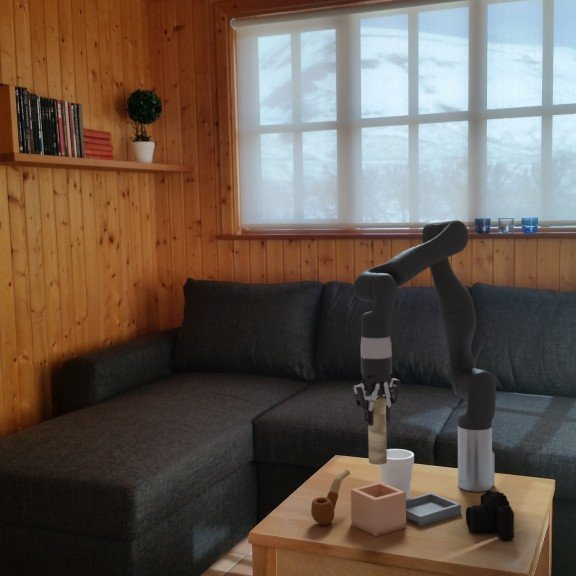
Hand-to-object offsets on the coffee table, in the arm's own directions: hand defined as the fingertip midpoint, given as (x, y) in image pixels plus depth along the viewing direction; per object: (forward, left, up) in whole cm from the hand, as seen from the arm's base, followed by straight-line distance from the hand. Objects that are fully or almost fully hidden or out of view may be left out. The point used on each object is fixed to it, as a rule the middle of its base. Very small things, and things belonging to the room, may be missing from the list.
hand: (377, 422), depth 195 cm
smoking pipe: (+6, -12, -26) cm, 30 cm away
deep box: (0, 0, -26) cm, 26 cm away
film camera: (-20, +17, -26) cm, 38 cm away
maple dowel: (0, 0, -10) cm, 10 cm away
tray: (-15, +1, -26) cm, 30 cm away
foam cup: (-15, -10, -26) cm, 32 cm away
